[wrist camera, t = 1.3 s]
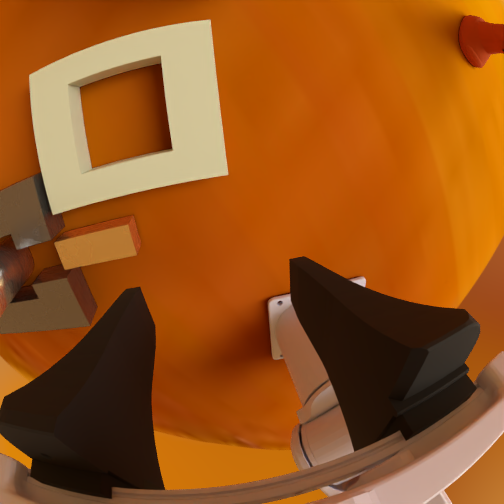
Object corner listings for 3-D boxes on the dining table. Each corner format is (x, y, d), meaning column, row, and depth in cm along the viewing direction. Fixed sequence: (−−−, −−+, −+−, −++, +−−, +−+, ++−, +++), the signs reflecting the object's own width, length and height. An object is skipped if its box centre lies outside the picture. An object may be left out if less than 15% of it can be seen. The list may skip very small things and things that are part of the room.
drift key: (133, 215, 17) (127, 224, 16) (141, 243, 18) (137, 255, 17) (63, 232, 17) (54, 242, 15) (73, 258, 18) (64, 269, 16)
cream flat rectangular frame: (208, 29, 13) (210, 19, 11) (224, 169, 18) (228, 174, 16) (43, 77, 11) (29, 75, 10) (64, 205, 16) (52, 214, 14)
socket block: (49, 168, 15) (32, 176, 12) (97, 306, 20) (90, 325, 18) (-37, 210, 13) (-52, 221, 11) (10, 318, 19) (0, 333, 16)
